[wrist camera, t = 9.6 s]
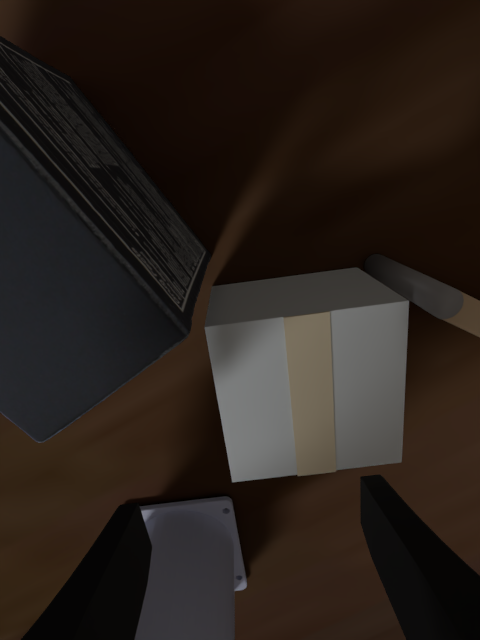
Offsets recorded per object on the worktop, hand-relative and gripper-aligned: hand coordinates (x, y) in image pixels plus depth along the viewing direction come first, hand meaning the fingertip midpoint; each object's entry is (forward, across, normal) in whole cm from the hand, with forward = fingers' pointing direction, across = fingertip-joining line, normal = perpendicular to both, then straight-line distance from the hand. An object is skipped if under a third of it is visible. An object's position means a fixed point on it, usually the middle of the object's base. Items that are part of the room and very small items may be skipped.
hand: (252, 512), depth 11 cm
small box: (+11, +6, -9) cm, 15 cm away
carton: (+10, -3, -1) cm, 11 cm away
